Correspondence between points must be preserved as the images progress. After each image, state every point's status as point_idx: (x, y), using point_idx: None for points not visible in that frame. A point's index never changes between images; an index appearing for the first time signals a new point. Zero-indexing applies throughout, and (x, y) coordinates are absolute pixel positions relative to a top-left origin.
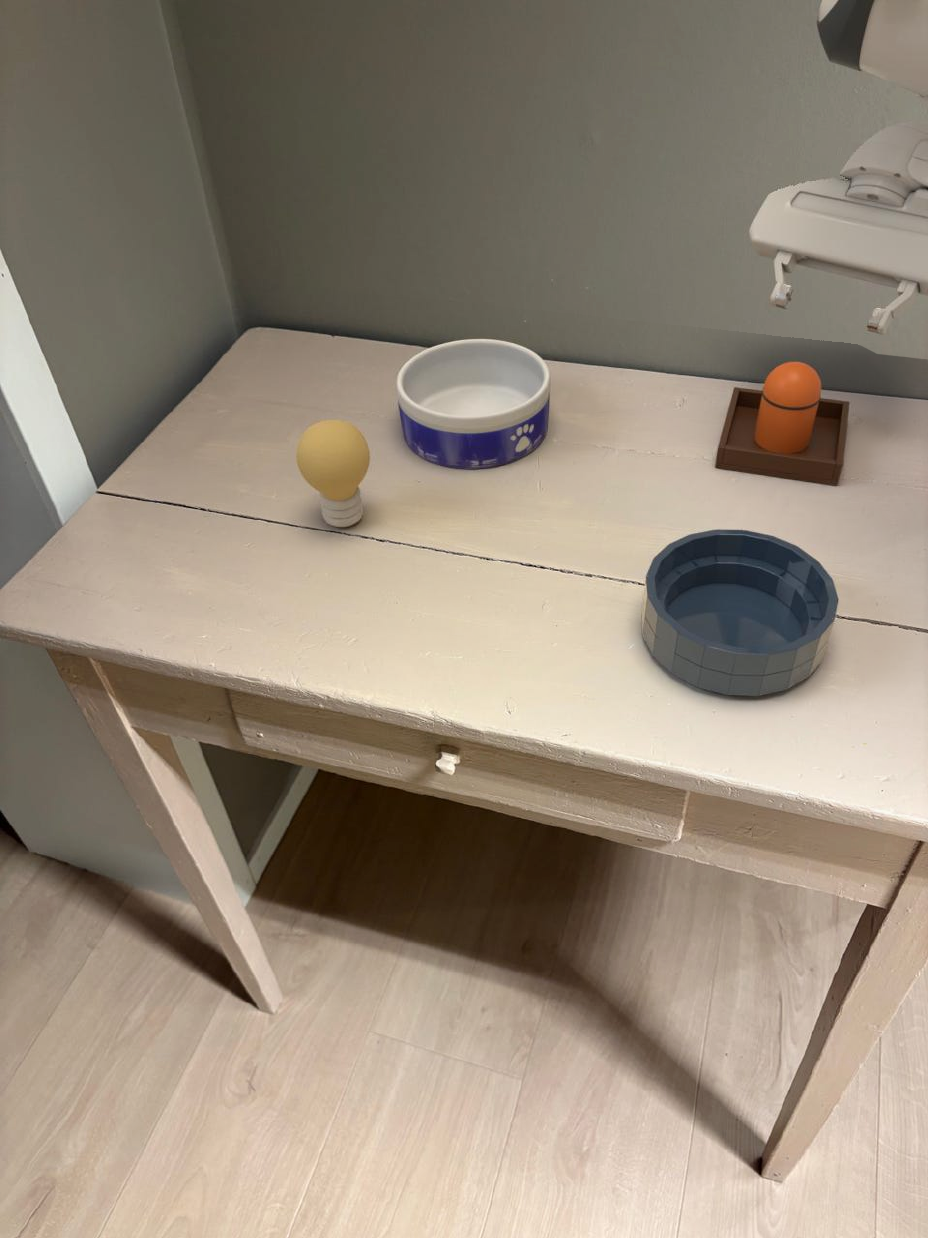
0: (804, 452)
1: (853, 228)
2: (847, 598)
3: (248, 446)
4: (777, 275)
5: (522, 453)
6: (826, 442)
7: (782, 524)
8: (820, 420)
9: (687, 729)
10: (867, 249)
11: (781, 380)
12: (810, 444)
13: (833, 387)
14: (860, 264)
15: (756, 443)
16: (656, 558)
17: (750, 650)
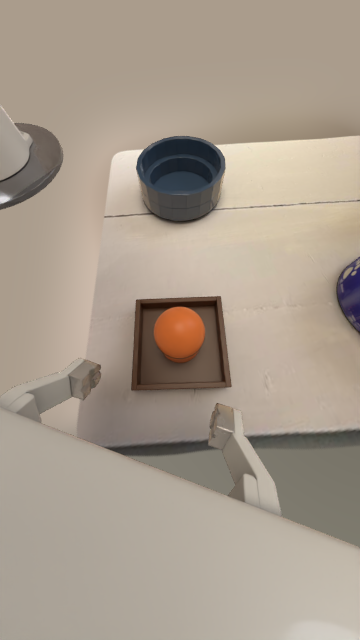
0: None
1: (72, 601)
2: (133, 225)
3: None
4: (250, 448)
5: (341, 276)
6: (148, 347)
7: (168, 264)
8: (154, 377)
9: None
10: (54, 483)
11: (189, 311)
12: None
13: (146, 451)
14: (85, 442)
15: None
16: (224, 168)
17: (170, 138)
